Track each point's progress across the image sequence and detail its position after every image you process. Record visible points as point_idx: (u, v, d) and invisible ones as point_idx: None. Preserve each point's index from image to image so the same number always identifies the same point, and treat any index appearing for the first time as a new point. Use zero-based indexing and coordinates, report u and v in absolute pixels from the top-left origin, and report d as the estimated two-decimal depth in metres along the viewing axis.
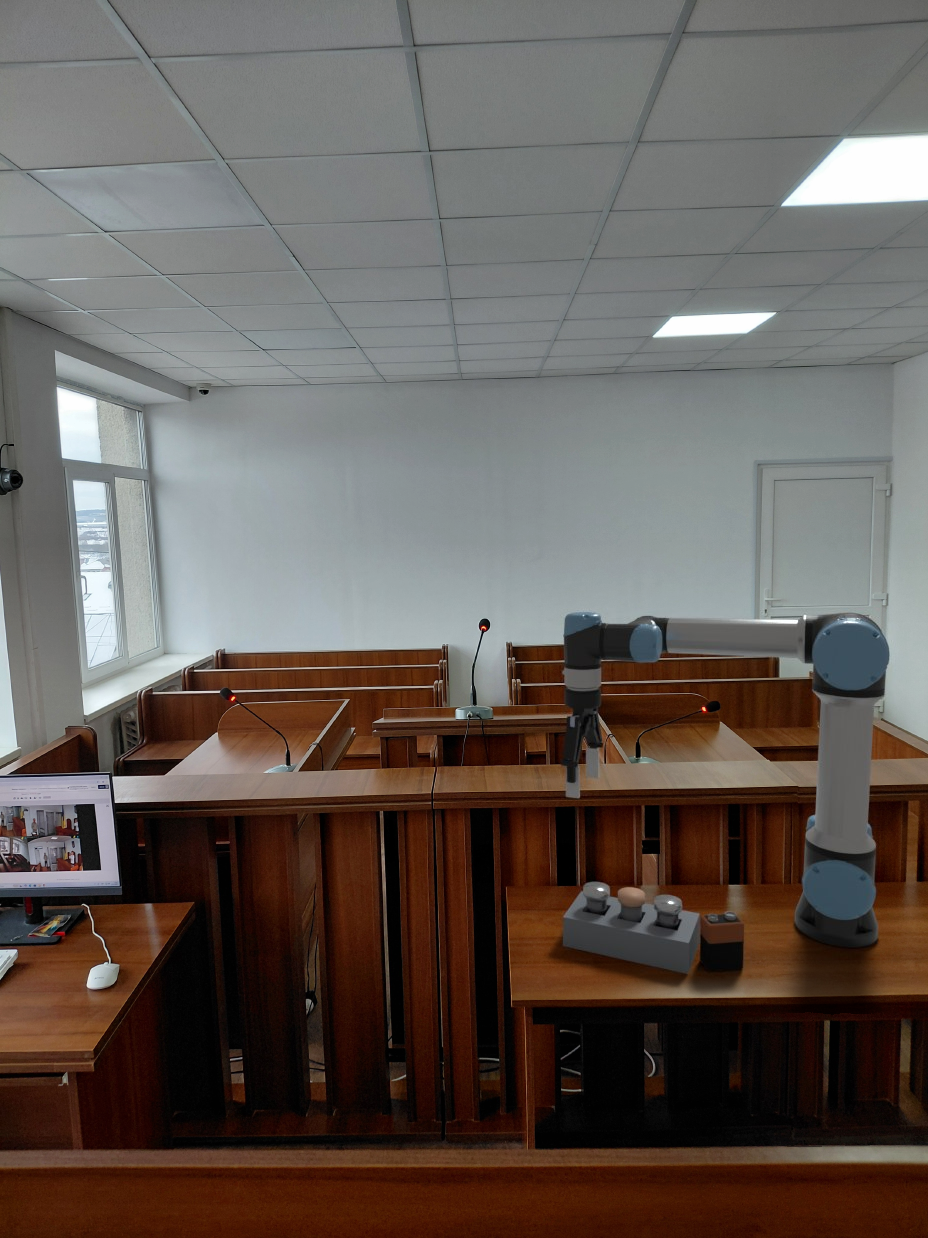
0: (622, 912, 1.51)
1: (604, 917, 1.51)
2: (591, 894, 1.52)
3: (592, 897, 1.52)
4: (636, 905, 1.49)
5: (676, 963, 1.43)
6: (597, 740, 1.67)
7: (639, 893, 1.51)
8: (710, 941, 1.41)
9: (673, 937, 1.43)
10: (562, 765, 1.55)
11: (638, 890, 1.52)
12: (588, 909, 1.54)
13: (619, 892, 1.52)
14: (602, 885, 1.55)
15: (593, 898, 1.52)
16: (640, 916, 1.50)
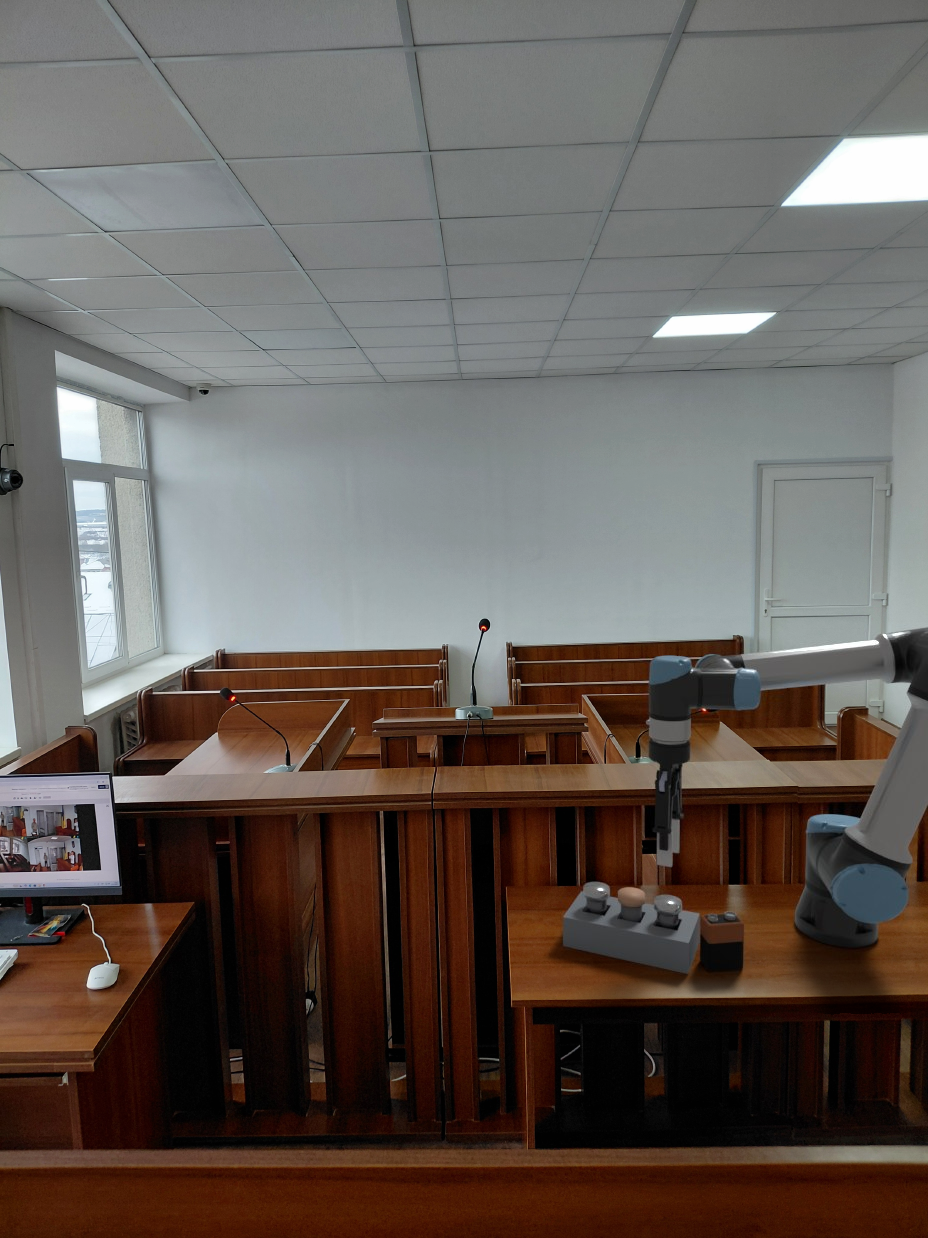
0: (622, 912, 1.51)
1: (604, 917, 1.51)
2: (591, 894, 1.52)
3: (592, 897, 1.52)
4: (636, 905, 1.49)
5: (676, 963, 1.43)
6: (678, 808, 1.49)
7: (639, 893, 1.51)
8: (709, 941, 1.41)
9: (673, 937, 1.43)
10: (654, 831, 1.43)
11: (638, 890, 1.52)
12: (588, 909, 1.54)
13: (619, 892, 1.52)
14: (602, 885, 1.55)
15: (593, 898, 1.52)
16: (640, 916, 1.50)
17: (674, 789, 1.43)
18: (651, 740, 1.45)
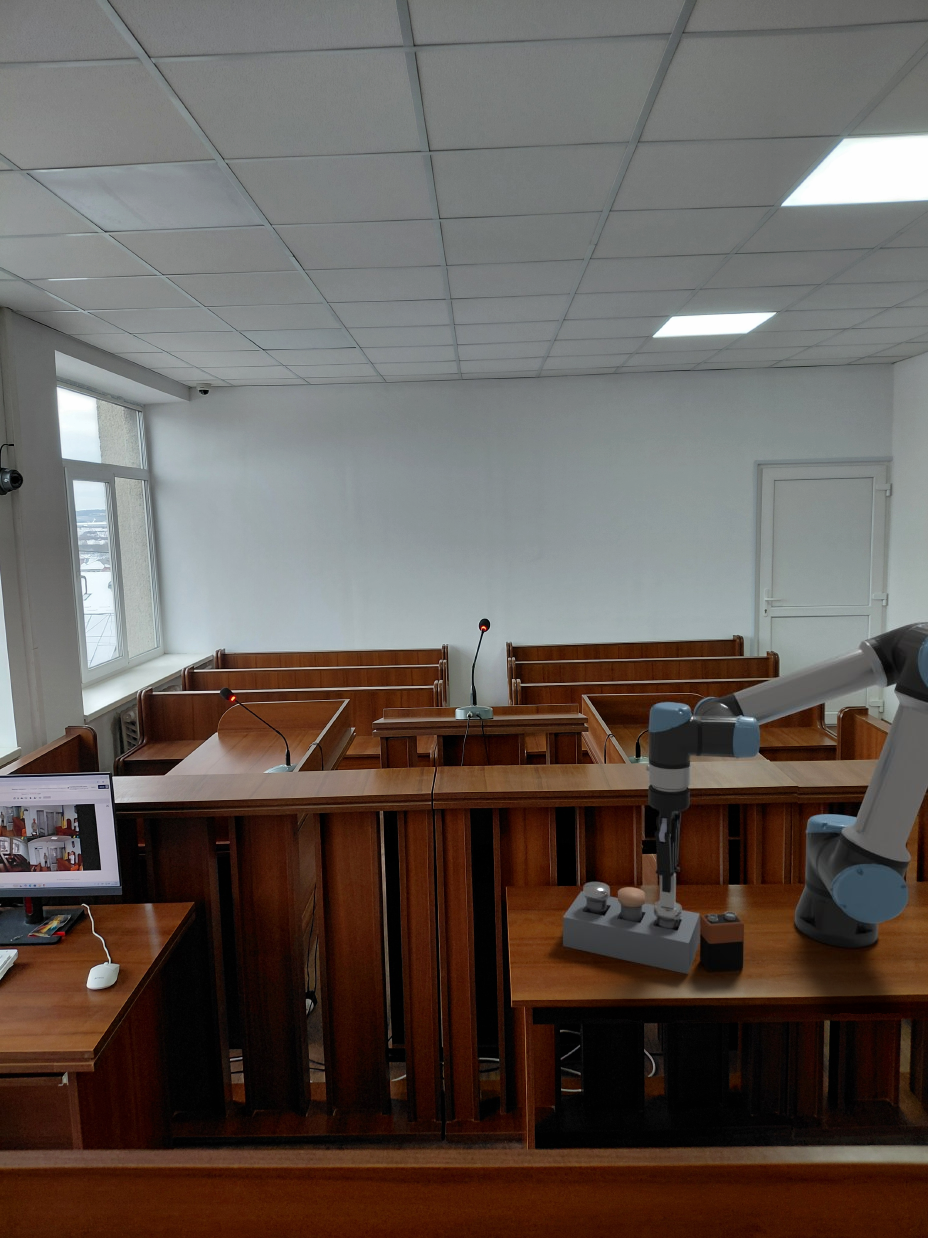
0: (622, 912, 1.51)
1: (604, 917, 1.51)
2: (591, 894, 1.52)
3: (592, 897, 1.52)
4: (636, 905, 1.49)
5: (676, 963, 1.43)
6: (675, 859, 1.48)
7: (639, 893, 1.51)
8: (709, 941, 1.41)
9: (673, 937, 1.43)
10: (657, 873, 1.47)
11: (638, 890, 1.52)
12: (588, 909, 1.54)
13: (619, 892, 1.52)
14: (602, 885, 1.55)
15: (593, 898, 1.52)
16: (640, 916, 1.50)
17: (674, 836, 1.44)
18: (651, 786, 1.46)
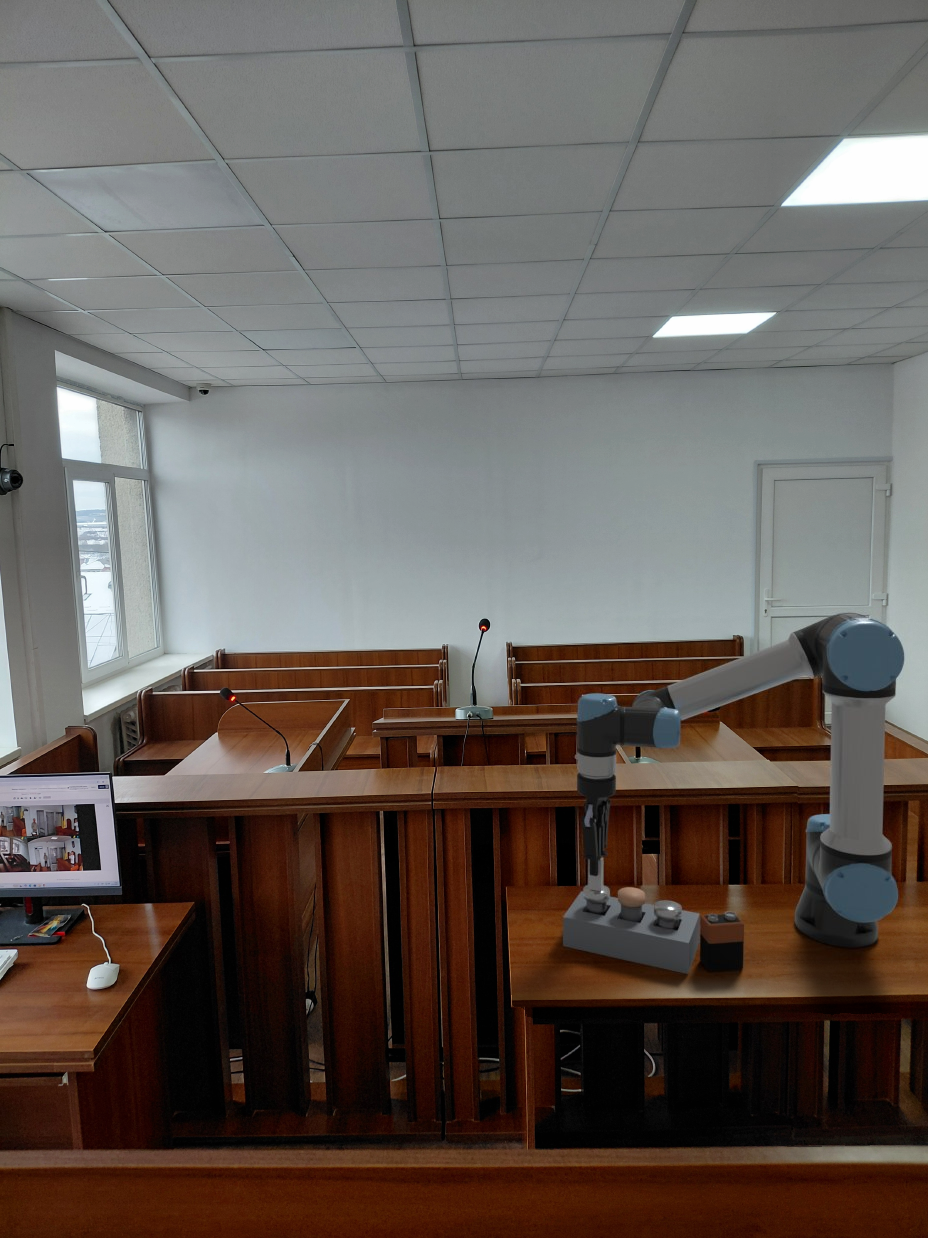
0: (622, 912, 1.51)
1: (604, 917, 1.51)
2: (591, 897, 1.52)
3: (592, 899, 1.52)
4: (636, 905, 1.49)
5: (676, 963, 1.43)
6: (603, 844, 1.54)
7: (639, 893, 1.51)
8: (710, 941, 1.41)
9: (673, 937, 1.43)
10: None
11: (638, 890, 1.52)
12: (588, 911, 1.54)
13: (619, 892, 1.52)
14: None
15: (593, 901, 1.52)
16: (640, 916, 1.50)
17: (600, 821, 1.50)
18: (579, 774, 1.52)
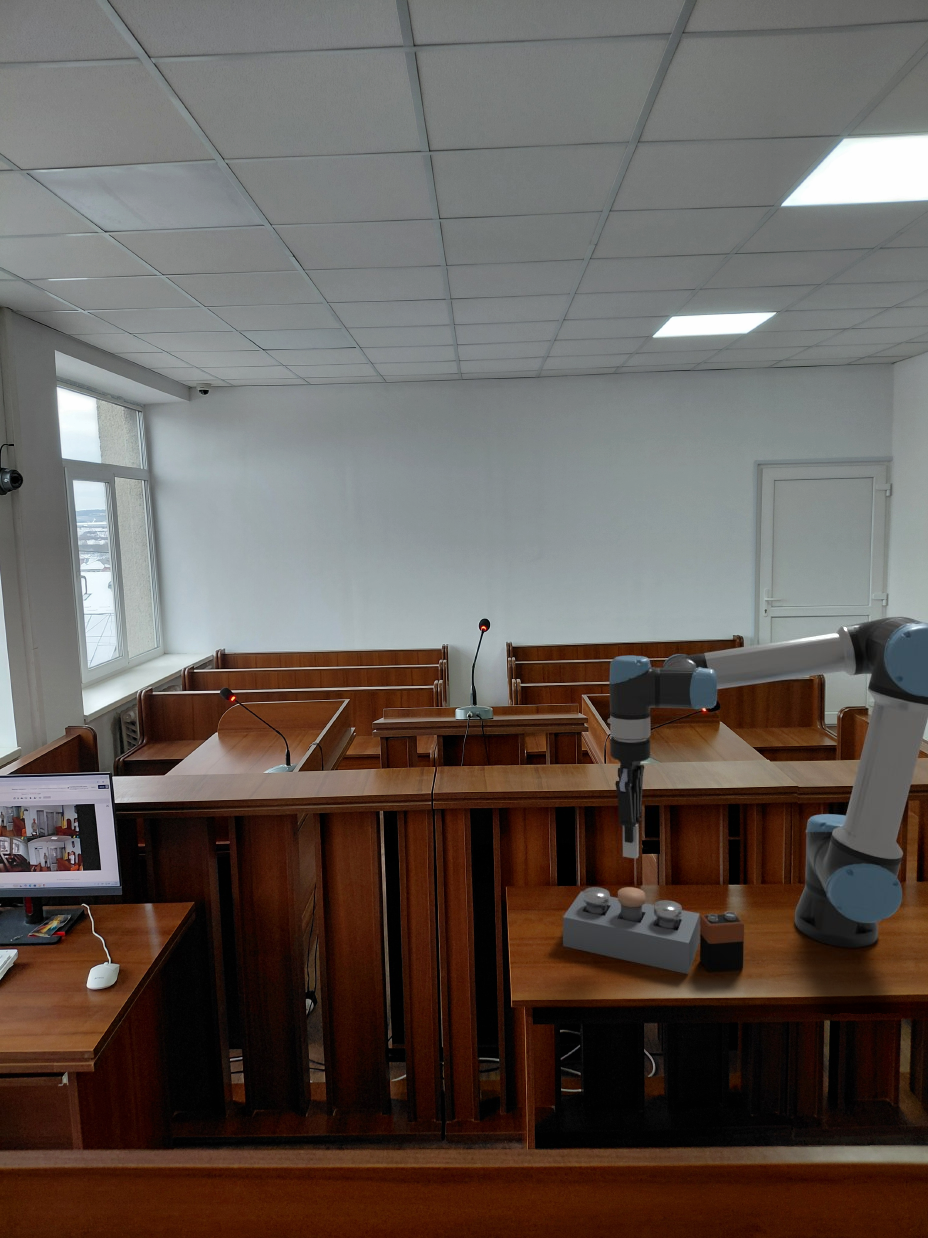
0: (622, 912, 1.51)
1: (604, 917, 1.51)
2: (591, 900, 1.52)
3: (592, 902, 1.52)
4: (636, 905, 1.49)
5: (676, 963, 1.43)
6: (638, 810, 1.50)
7: (639, 893, 1.51)
8: (710, 941, 1.41)
9: (673, 937, 1.43)
10: (620, 824, 1.49)
11: (638, 890, 1.52)
12: None
13: (619, 892, 1.52)
14: (602, 890, 1.55)
15: (593, 904, 1.52)
16: (640, 916, 1.50)
17: (635, 786, 1.47)
18: (612, 738, 1.48)
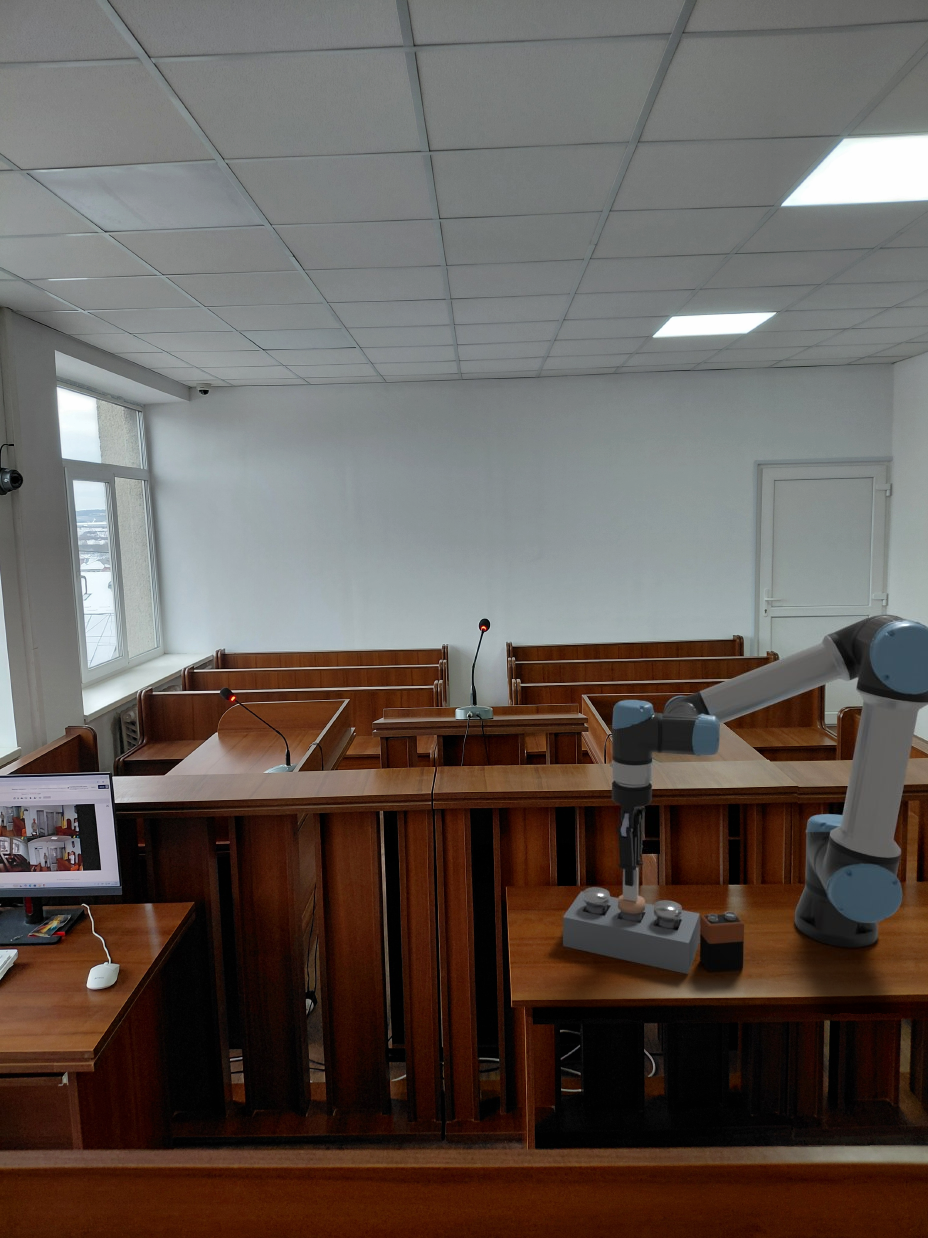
0: None
1: (604, 917, 1.51)
2: (591, 900, 1.52)
3: (592, 902, 1.52)
4: (636, 912, 1.49)
5: (676, 963, 1.43)
6: (638, 853, 1.51)
7: (639, 900, 1.51)
8: (710, 941, 1.41)
9: (673, 937, 1.43)
10: None
11: (638, 897, 1.52)
12: None
13: (619, 899, 1.52)
14: (602, 890, 1.55)
15: (593, 904, 1.52)
16: None
17: (636, 831, 1.47)
18: (614, 782, 1.49)
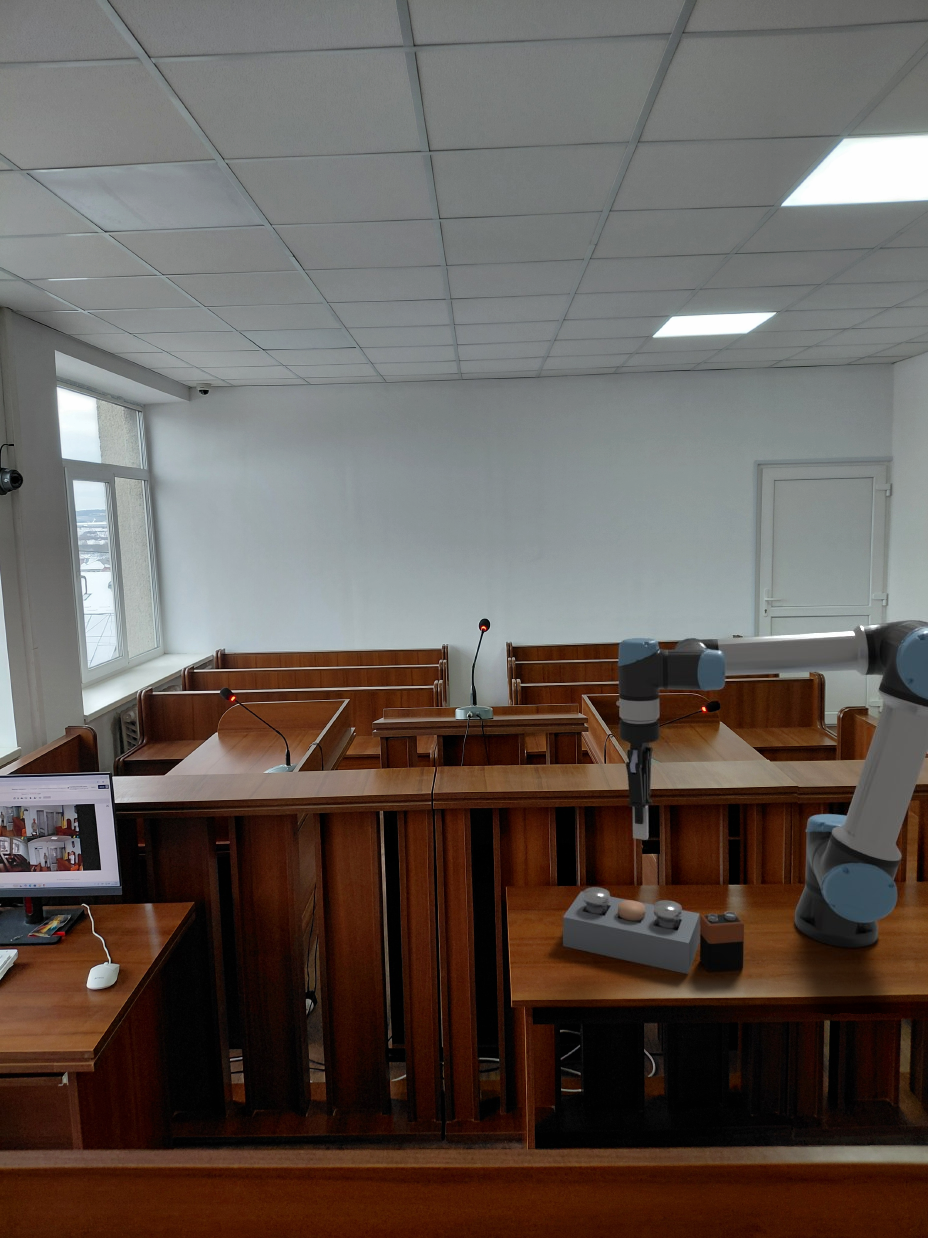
0: None
1: (604, 917, 1.51)
2: (591, 900, 1.52)
3: (592, 902, 1.52)
4: (636, 918, 1.49)
5: (676, 963, 1.43)
6: (647, 792, 1.51)
7: (639, 907, 1.51)
8: (710, 941, 1.41)
9: (673, 937, 1.43)
10: None
11: (638, 903, 1.53)
12: None
13: (619, 905, 1.52)
14: (602, 890, 1.55)
15: (593, 904, 1.52)
16: None
17: (645, 768, 1.48)
18: (621, 720, 1.49)
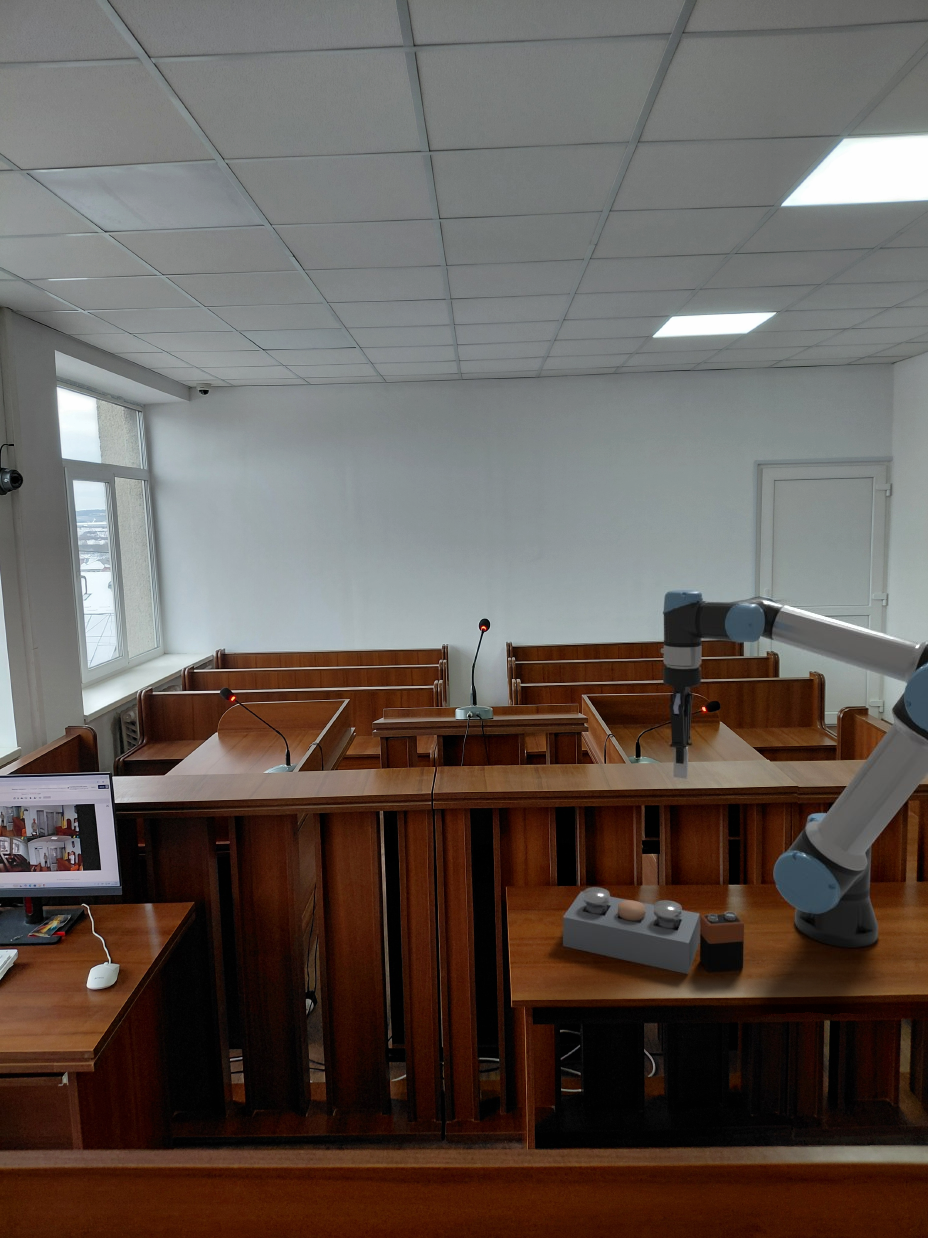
0: None
1: (604, 917, 1.51)
2: (591, 900, 1.52)
3: (592, 902, 1.52)
4: (636, 918, 1.49)
5: (676, 963, 1.43)
6: (688, 734, 1.62)
7: (639, 907, 1.51)
8: (709, 941, 1.41)
9: (673, 937, 1.43)
10: (671, 746, 1.61)
11: (638, 903, 1.53)
12: None
13: (619, 905, 1.52)
14: (602, 890, 1.55)
15: (593, 904, 1.52)
16: None
17: (687, 710, 1.58)
18: (665, 666, 1.60)
